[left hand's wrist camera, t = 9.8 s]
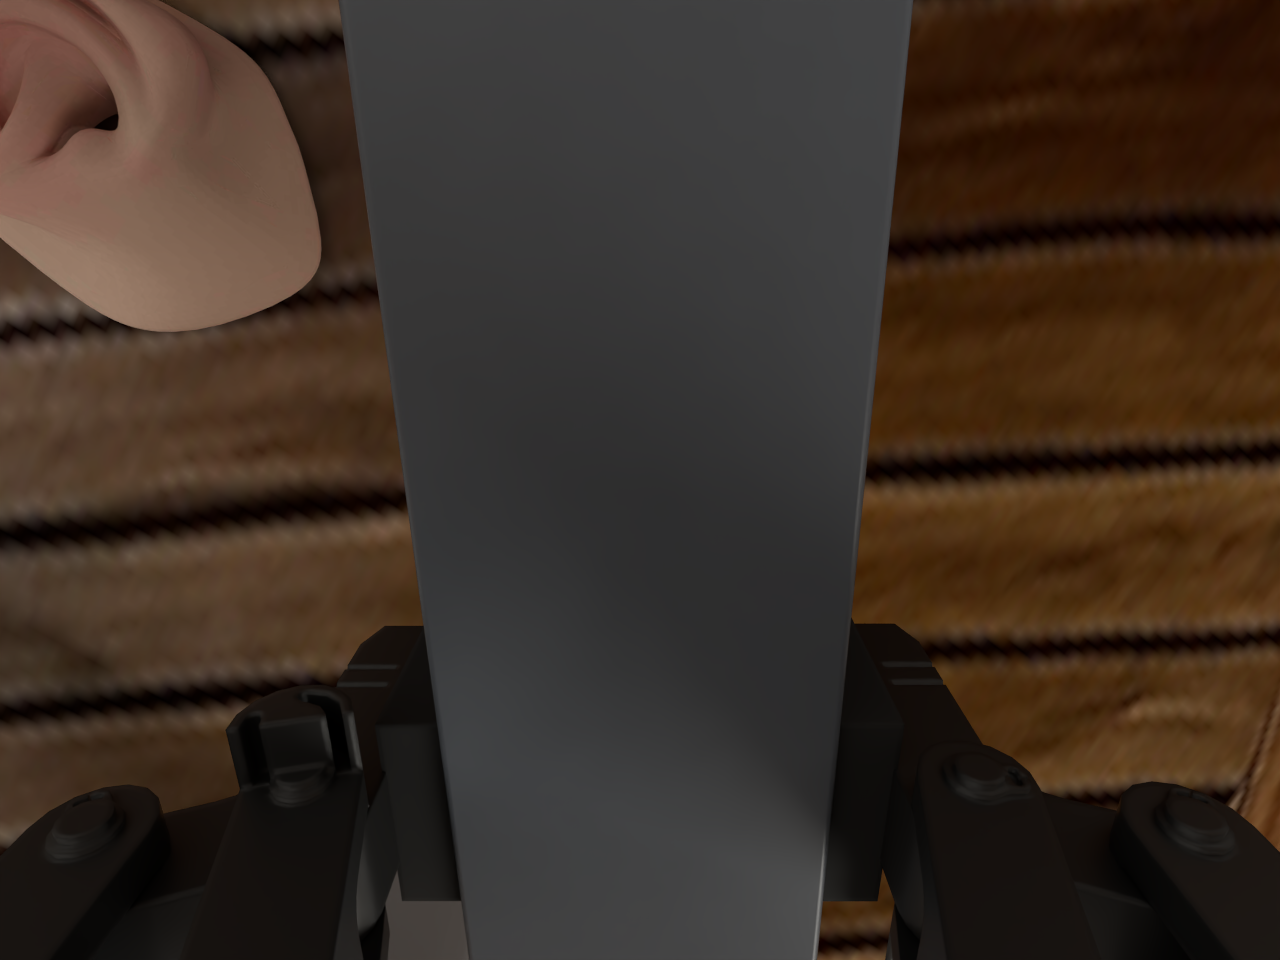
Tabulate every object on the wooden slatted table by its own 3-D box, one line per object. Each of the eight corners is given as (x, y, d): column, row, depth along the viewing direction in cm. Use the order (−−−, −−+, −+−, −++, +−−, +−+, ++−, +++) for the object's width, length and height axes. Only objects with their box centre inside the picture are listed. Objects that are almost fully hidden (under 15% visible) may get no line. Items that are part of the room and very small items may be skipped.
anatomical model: (338, 233, 22) (77, 436, 25) (381, 228, 26) (151, 405, 28) (-26, -238, 18) (-295, 57, 21) (86, -166, 22) (-153, 77, 24)
